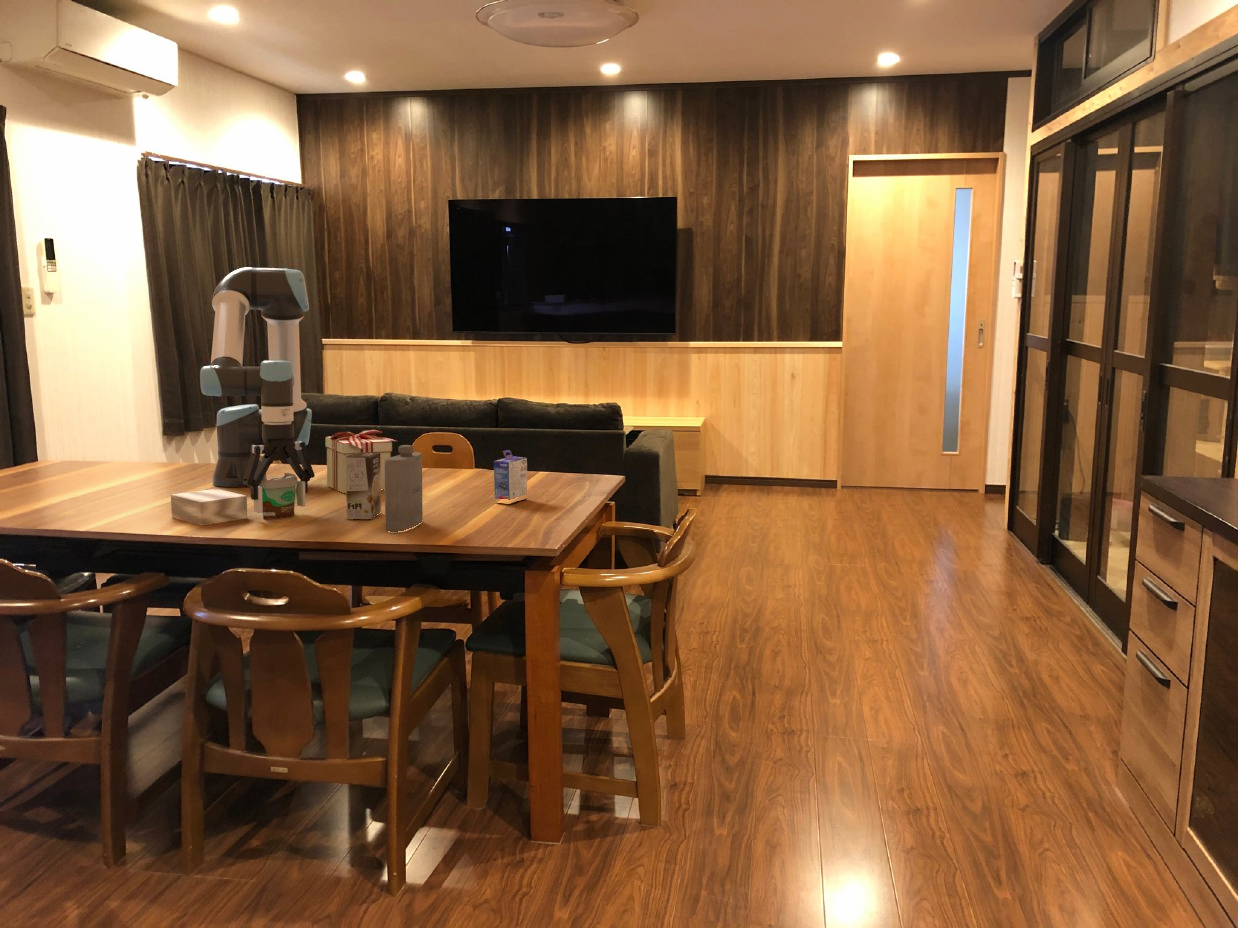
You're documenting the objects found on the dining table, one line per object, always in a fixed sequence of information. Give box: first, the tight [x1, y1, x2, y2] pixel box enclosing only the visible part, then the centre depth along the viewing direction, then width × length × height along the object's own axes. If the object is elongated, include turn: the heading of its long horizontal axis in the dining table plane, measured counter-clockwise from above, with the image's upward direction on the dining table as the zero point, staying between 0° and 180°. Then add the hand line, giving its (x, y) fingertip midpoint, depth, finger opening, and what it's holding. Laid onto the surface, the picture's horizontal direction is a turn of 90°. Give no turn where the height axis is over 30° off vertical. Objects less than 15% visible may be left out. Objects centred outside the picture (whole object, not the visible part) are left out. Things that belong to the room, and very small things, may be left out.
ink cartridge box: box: [493, 449, 528, 500], centre depth 266 cm, size 10×6×14 cm, turn 155°
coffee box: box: [346, 452, 382, 520], centre depth 241 cm, size 9×6×16 cm
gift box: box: [324, 429, 397, 494], centre depth 280 cm, size 17×18×17 cm
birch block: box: [170, 488, 248, 526], centre depth 237 cm, size 12×14×6 cm
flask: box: [384, 444, 424, 532], centre depth 230 cm, size 15×6×20 cm, turn 170°
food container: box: [259, 472, 299, 520], centre depth 240 cm, size 12×6×10 cm, turn 168°
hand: (280, 509), depth 239 cm, fingers closed on food container, 11 cm apart
